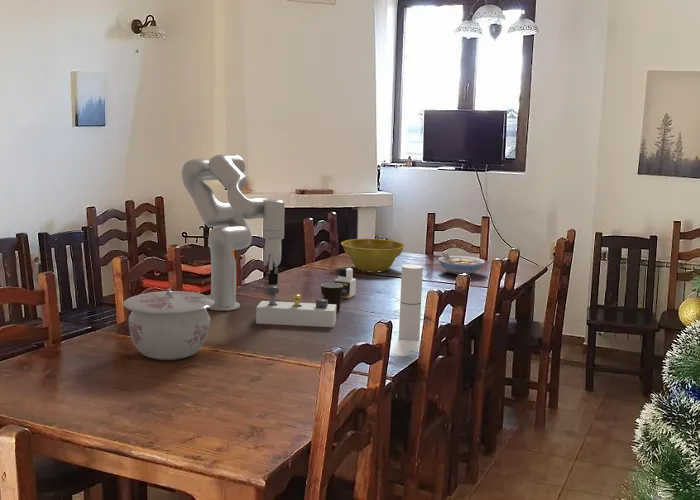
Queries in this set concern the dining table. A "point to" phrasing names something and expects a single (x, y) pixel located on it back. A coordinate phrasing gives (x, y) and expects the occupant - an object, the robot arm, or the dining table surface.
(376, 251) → the planter bowl
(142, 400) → the dining table surface
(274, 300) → the knob
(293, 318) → the mount
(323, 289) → the coffee mug
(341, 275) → the medicine bottle
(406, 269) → the cylindrical container
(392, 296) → the dining table surface
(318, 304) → the knob
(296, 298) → the brass dial
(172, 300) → the chamber pot
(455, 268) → the ramen bowl
